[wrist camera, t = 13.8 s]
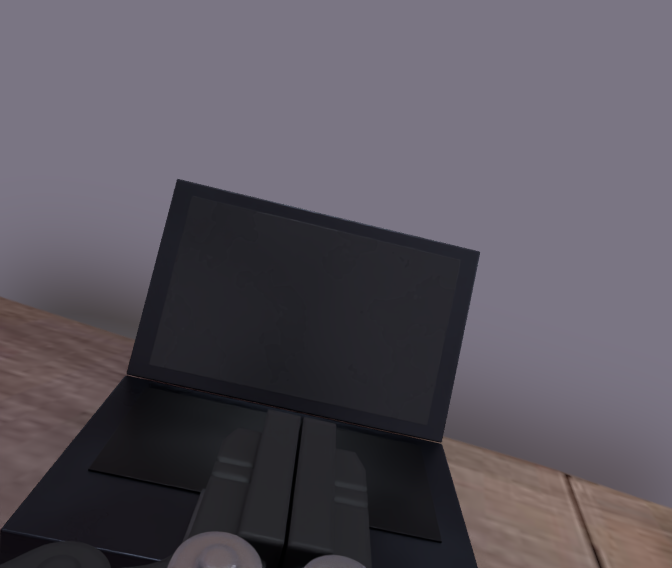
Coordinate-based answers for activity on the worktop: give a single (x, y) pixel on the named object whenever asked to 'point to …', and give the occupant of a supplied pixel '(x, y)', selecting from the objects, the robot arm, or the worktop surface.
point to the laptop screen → (305, 312)
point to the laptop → (193, 475)
